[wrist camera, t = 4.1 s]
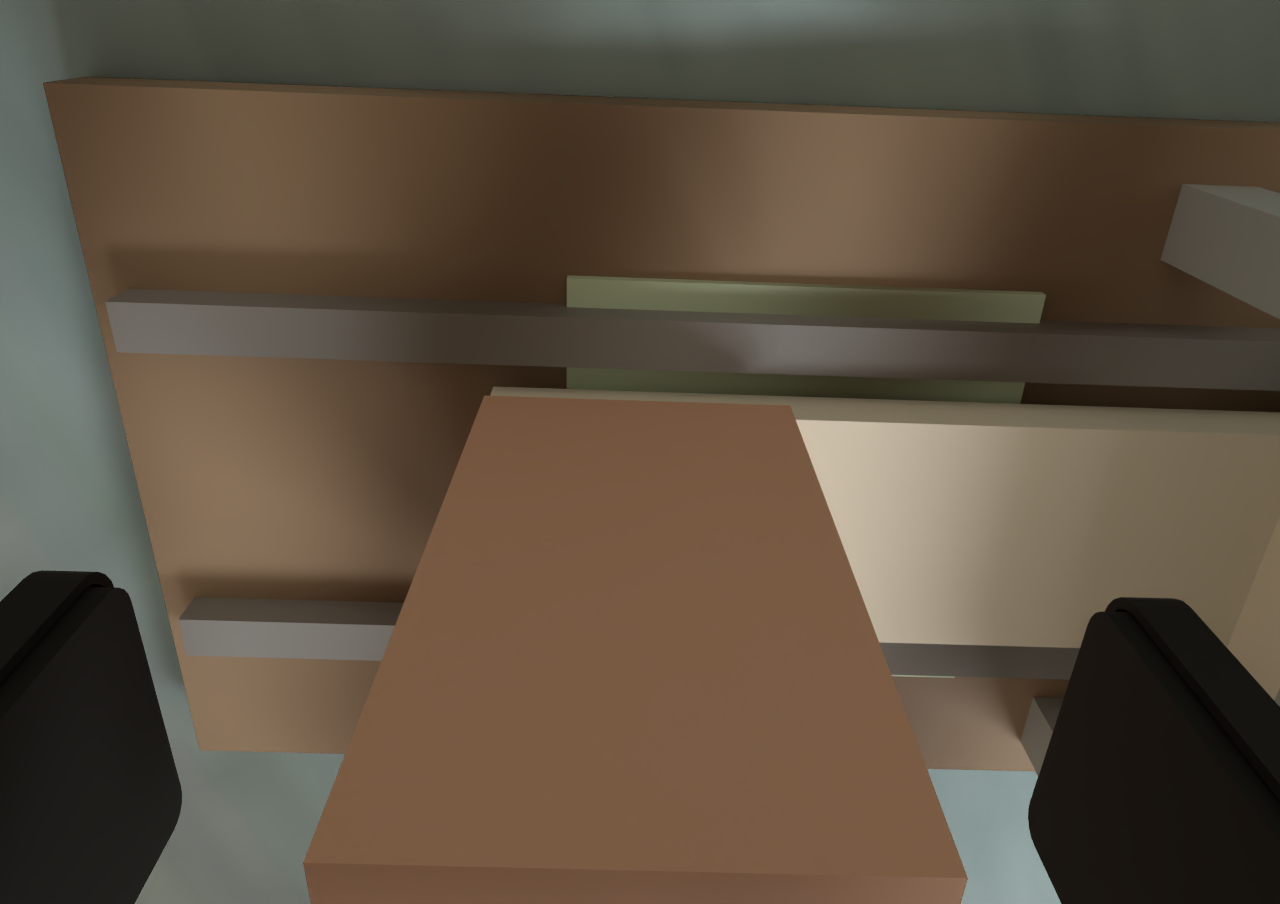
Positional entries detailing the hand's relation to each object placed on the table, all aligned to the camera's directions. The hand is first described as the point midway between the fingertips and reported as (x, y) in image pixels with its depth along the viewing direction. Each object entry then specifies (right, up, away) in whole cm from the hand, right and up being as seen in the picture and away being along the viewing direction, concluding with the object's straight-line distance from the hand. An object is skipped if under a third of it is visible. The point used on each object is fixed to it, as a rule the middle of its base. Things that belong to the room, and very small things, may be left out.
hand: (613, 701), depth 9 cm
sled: (+8, +2, +5) cm, 9 cm away
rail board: (+8, +2, +6) cm, 10 cm away
